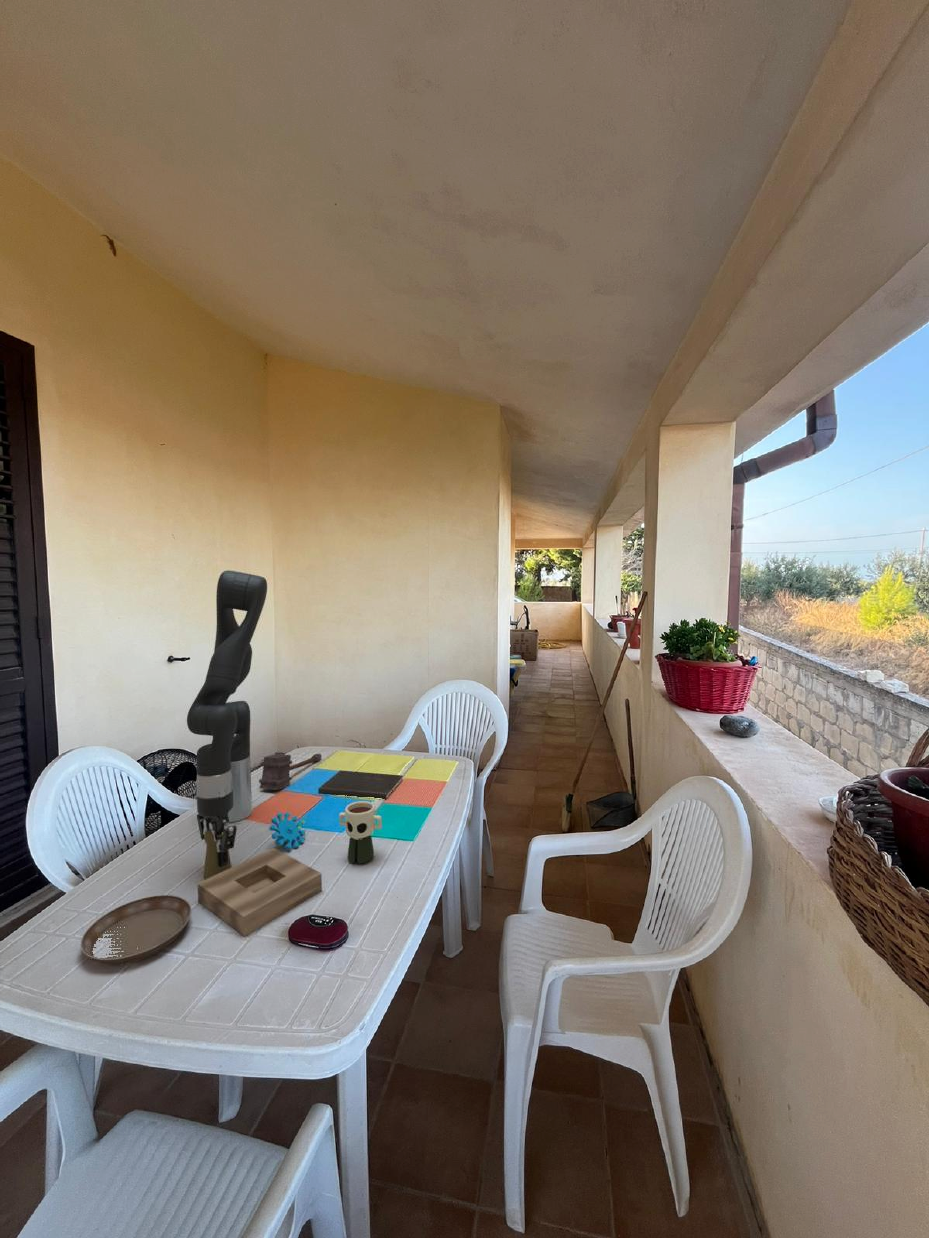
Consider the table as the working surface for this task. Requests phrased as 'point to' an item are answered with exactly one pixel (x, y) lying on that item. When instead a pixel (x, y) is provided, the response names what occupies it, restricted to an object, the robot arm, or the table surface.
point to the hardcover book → (360, 784)
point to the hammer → (280, 770)
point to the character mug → (360, 829)
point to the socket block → (259, 890)
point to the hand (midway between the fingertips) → (217, 861)
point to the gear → (287, 830)
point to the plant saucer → (138, 928)
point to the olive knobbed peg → (213, 857)
